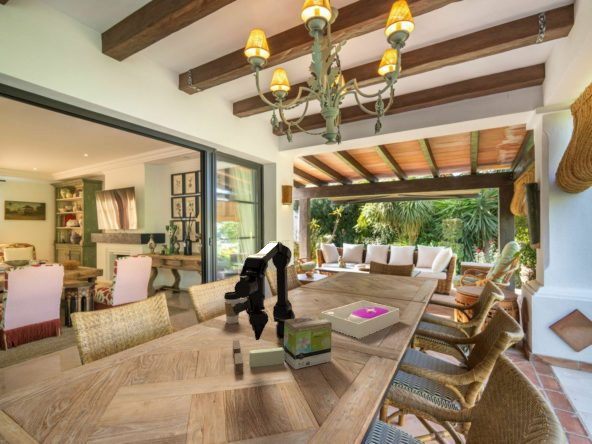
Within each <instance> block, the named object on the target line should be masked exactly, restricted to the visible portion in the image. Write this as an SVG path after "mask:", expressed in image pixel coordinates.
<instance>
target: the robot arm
mask: <svg viewBox="0 0 592 444" xmlns="http://www.w3.org/2000/svg"><path fill="white" fill-rule="evenodd" d="M292 255H293V254H292V250H291V249H290V248H289V247H288V246H286V245H285V244H283V243H282V242H280V241H275V240H274V241H273V240H272V241H268V243H267V244H266V246H265V247H264V248H262V249H261V250H260V251H259V252H258V253H253V254H250V255H248V256H246V258H245V259H244V262H243V266H242V267H241V268H242V269H241V271H240V274H239V276H240V277H239V280H238V281H237V282H236V283H235V285H234V289H233V291H234V292H235V293H236V295H237V296H238V297H240V300H238V301H236V302H233V303H232V304H231V306H232V309H233V312H234V314H235V315H237V314H239V315H240V313H242V312H244V311H245V313H246V314H247V315H248V323H249V325H250V326H251V327H252V331H253V332H254V339H255V341H259V340H260V338H261V336H262V334H263V331H264V329H265V328H266V326H267V324H268V322H269V315H268V313H267V312H266V307H265V298H266V295H265V278H266V271H267V269H268V267H269V262H270V261H272V264H273V266H274V267H275V269H276V302H275V304H274V305H273V309H272V310H273V311H272V317H273V322H274V323H276V324H275V334H276V336H277V338H279V339H284V324H285V320H289V319H296V314H295V313H294V310H293V304H292V303H291V302H290V299H289V293H288V292H289V290H288V289H289V287H288V286H289V283H288V266H289V265H290V263H291V259H292Z"/></svg>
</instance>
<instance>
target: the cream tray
mask: <svg viewBox="0 0 592 444" xmlns="http://www.w3.org/2000/svg"><path fill="white" fill-rule="evenodd" d="M320 316H321V317H322V318H324V319H326V320H328V321H330V322H331V323H332V331H334V330H335V331H334V332H337V331H338V332H337V333H339V332H341V333H340V334H342V333H344V334H343V335H345V334H347V335H346V336H348V335H350V336H349V337H351V336H353V337H356V338H358V339H357V340H360V339H362V338H361V337H363V338H365V337H367V336H370V335H371V334H374V333H376V331H377V332H379V331H381V330H383V329H386V328H388V327H391V326H393V325H395V324H397V323H400V308H398V307H393V306H388V305H385V304H380V303H376V302H371V301H367V300H364V299H363V300H360V301H359V300H358V301H356V302H352V303H349V304H346V305H342V306H339V307H335V308H331V309H328V310H324V311H321V312H320ZM369 334H370V335H369ZM364 336H365V337H364ZM353 337H352V338H353ZM356 338H355V339H356ZM359 338H360V339H359Z"/></svg>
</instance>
